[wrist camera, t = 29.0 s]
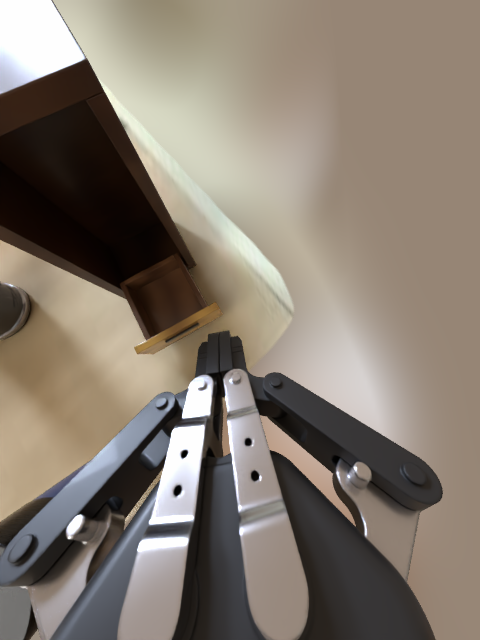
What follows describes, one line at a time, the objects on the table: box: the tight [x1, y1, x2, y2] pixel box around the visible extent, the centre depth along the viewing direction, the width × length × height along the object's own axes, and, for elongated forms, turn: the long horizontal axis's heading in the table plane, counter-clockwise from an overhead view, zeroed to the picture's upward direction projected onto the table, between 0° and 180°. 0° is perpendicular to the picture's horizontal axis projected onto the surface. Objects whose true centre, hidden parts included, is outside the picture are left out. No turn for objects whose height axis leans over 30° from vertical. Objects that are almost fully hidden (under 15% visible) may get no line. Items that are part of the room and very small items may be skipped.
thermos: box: [0, 460, 91, 640], centre depth 17 cm, size 6×6×18 cm
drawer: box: [119, 253, 223, 354], centre depth 26 cm, size 12×11×4 cm
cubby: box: [0, 0, 196, 299], centre depth 21 cm, size 13×11×22 cm
